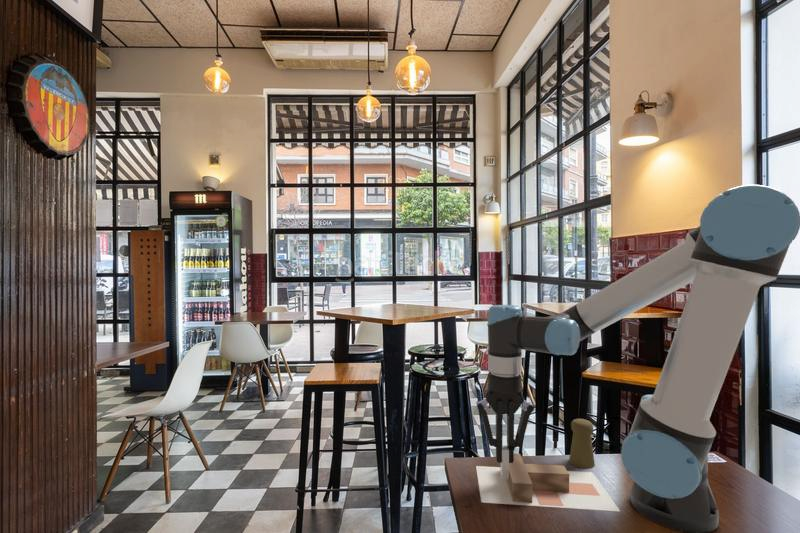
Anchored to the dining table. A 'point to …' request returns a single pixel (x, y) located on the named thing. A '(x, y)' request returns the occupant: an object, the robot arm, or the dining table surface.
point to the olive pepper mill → (582, 444)
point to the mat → (548, 492)
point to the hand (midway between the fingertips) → (504, 475)
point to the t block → (535, 479)
